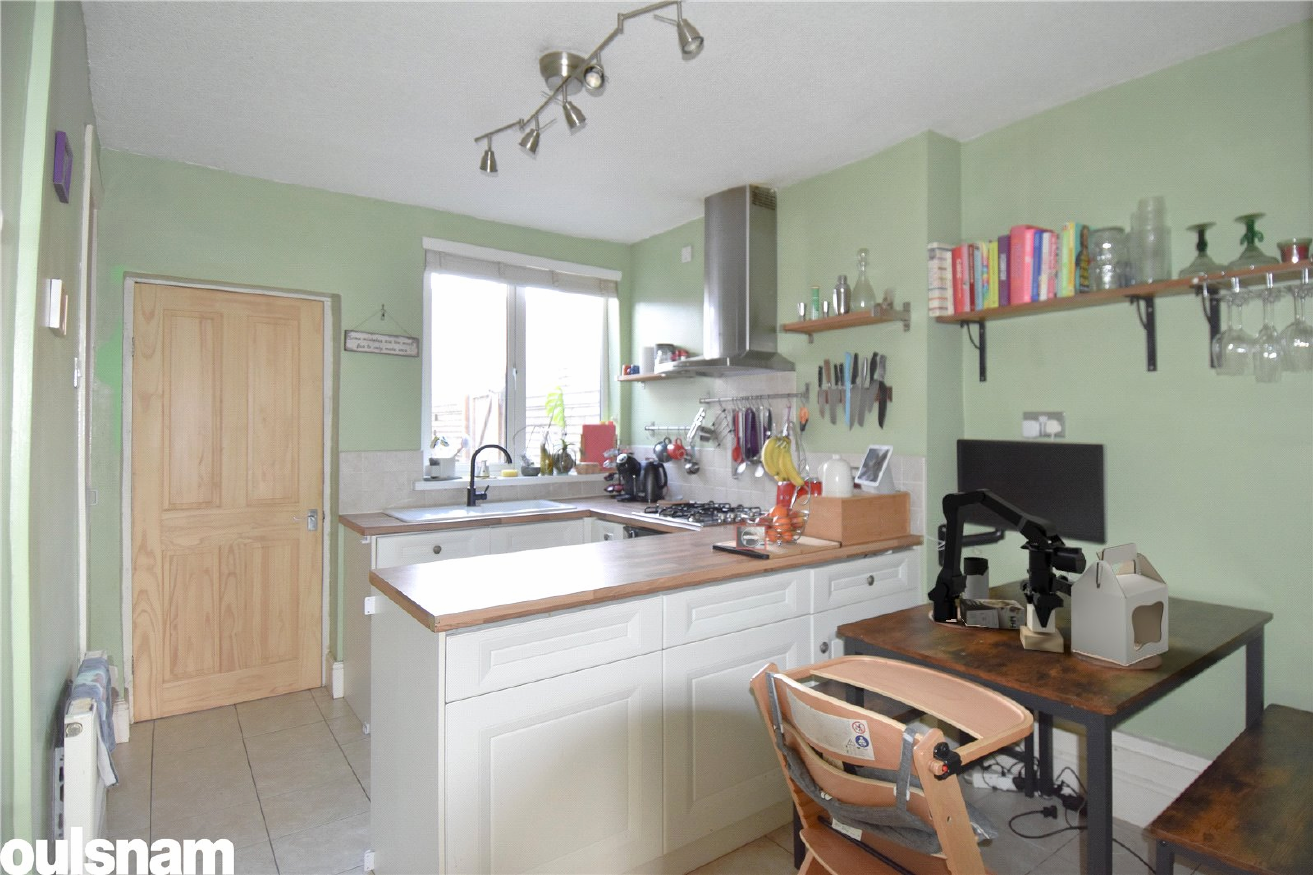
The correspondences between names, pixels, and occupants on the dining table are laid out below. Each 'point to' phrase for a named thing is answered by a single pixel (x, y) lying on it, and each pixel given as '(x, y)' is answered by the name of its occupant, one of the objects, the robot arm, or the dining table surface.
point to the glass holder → (976, 578)
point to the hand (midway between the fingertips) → (1040, 624)
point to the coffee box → (992, 613)
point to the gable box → (1120, 607)
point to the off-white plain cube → (1034, 622)
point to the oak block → (1041, 640)
